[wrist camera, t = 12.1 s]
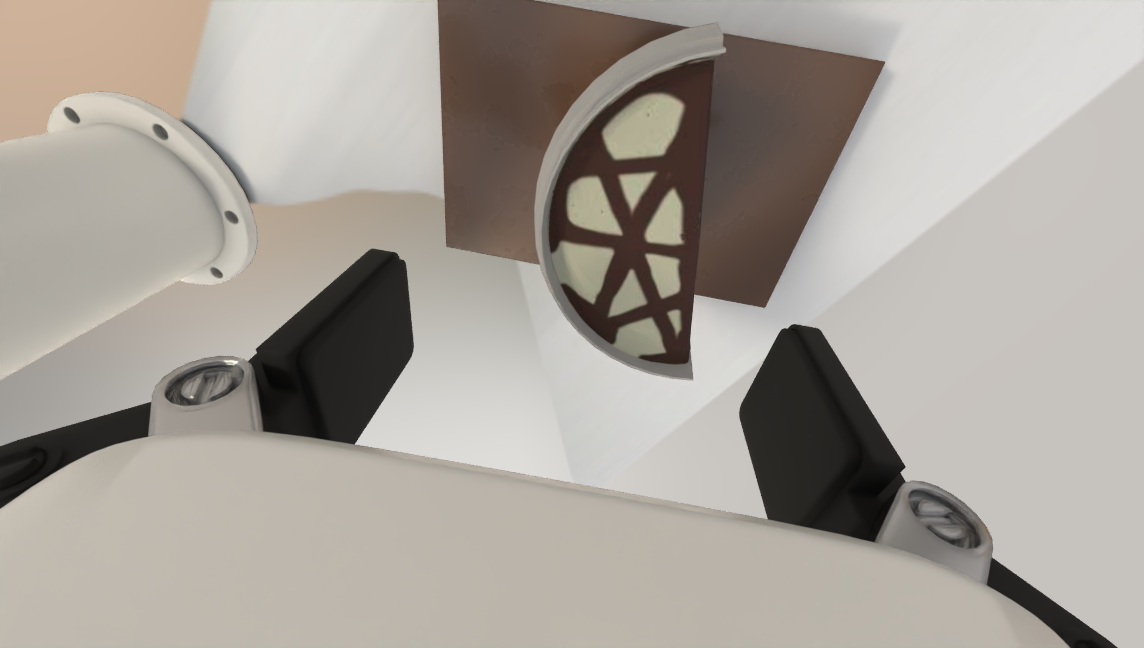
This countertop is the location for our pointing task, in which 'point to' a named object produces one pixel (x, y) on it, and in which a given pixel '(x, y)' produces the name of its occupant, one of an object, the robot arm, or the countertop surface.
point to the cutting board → (567, 68)
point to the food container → (632, 202)
